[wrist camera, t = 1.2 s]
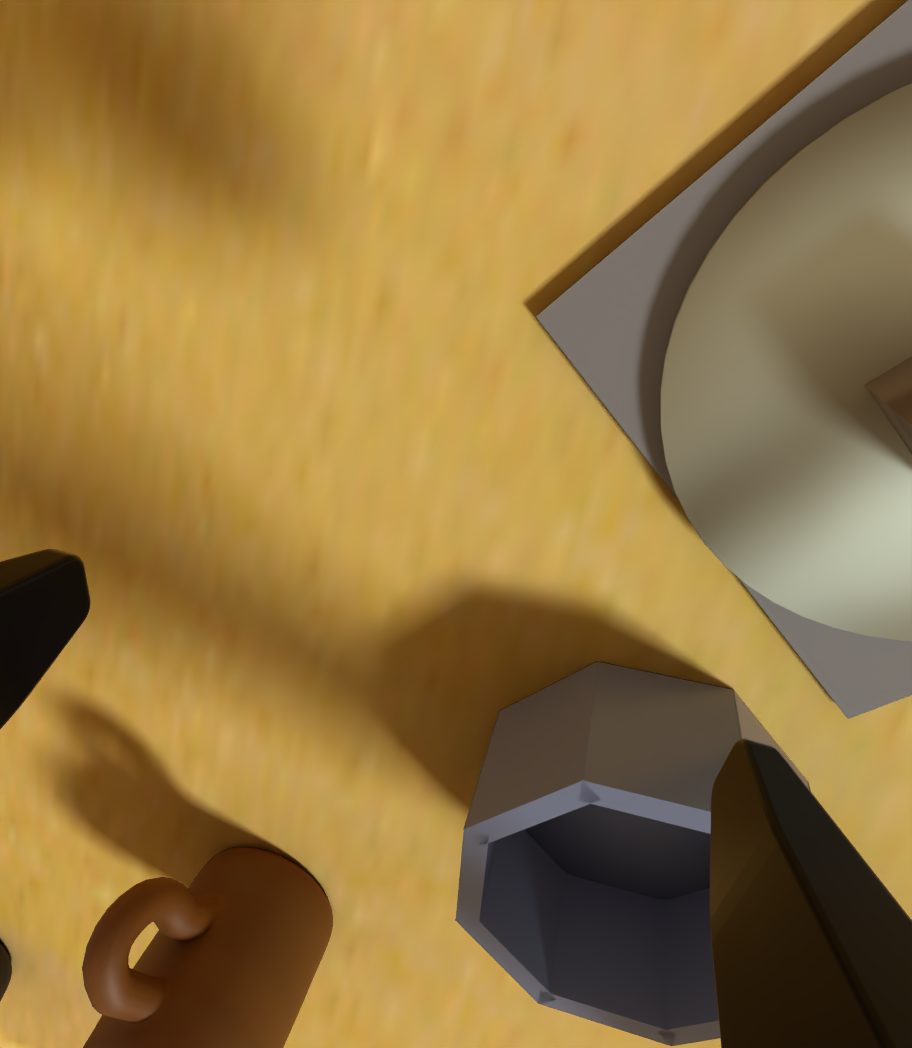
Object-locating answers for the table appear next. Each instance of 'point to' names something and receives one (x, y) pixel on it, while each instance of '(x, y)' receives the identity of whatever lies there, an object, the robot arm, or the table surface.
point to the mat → (659, 289)
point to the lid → (807, 381)
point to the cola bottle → (4, 970)
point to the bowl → (604, 847)
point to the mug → (209, 956)
